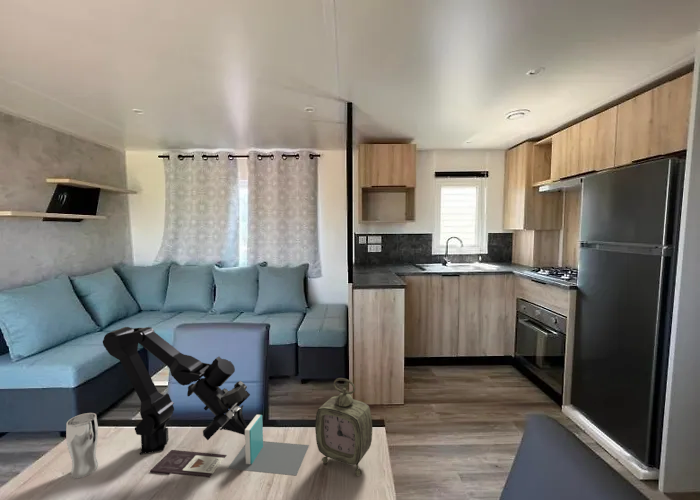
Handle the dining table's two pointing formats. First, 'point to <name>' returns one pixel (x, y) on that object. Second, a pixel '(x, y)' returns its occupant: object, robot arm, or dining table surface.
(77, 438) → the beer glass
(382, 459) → the dining table surface
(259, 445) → the tile
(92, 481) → the dining table surface
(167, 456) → the chocolate bar
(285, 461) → the mat
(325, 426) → the tabletop clock
